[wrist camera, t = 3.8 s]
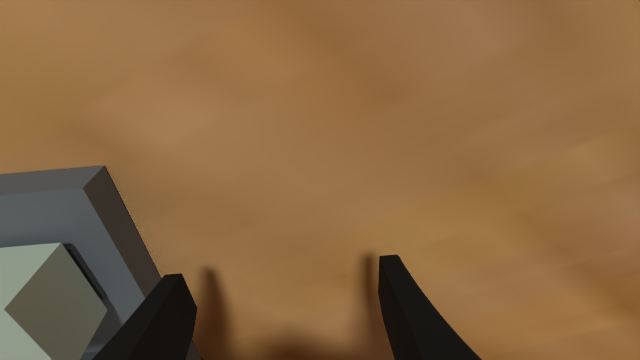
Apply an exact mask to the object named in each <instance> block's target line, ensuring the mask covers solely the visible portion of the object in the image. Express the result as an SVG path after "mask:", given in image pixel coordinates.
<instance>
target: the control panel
mask: <svg viewBox="0 0 640 360" xmlns="http://www.w3.org/2000/svg"><path fill="white" fill-rule="evenodd" d="M50 243H62V245H63V246H64V247H65V249H66V250H67V252H68V253H69V255H70V256H71V258H72V259H73V261H74V262H75V264H76V265H77V266H78V268H79V269H80V271H81V272H82V274H83V275H84V277H85V278H86V280H87V281H88V282H89V284H90V285H91V287H92V288H93V290H94V291H95V293H96V294H97V296H98V297H99V298H100V300H101V301H102V303H103V304H104V306H105V307H106V309H107V312H106V314H105V316H104V317H103V319H102V321H101V323H100V325H99V326H98V328H97V330H96V332H95V333H94V335H93V337H92V339H91V341H90V342H89V344H88V346H87V348H86V350H85V351H84V353H83V355H82V357H81V359H80V360H92V359H93V358H94V357H95V356H96V354H97V353H98V352H99V351H100V350H101V349H102V348H103V347H104V346H105V345H106V344H107V342H108V341H109V340H110V339H111V338H112V337H113V336H114V335H115V334H116V333H117V331H118V330H119V329H120V328H121V327H122V326H123V324H124V323H125V322H126V321H127V320H128V319H129V317H130V316H131V315H132V314H133V313H134V312H135V310H136V309H137V308H138V307H139V305H140V304H141V303H142V302H143V301H144V299H145V298H146V297H147V296H148V295H149V293H150V292H151V291H152V290H153V288H154V287H155V286H156V285H157V284H158V282H159V281H160V280H161V278H160V276H159V274H158V272H157V270H156V268H155V266H154V264H153V262H152V260H151V258H150V256H149V254H148V252H147V250H146V248H145V246H144V244H143V242H142V240H141V238H140V236H139V234H138V232H137V230H136V228H135V226H134V224H133V222H132V220H131V218H130V216H129V214H128V212H127V210H126V208H125V206H124V204H123V202H122V200H121V198H120V196H119V194H118V192H117V190H116V188H115V186H114V184H113V182H112V180H111V178H110V176H109V174H108V172H107V170H106V168H105V166H94V167H83V168H71V169H60V170H48V171H37V172H25V173H14V174H2V175H0V248H4V247H16V246H27V245H39V244H50ZM186 360H201V358H200V356H199V354H198V352H197V350H196V348H195V346H194V344H193V342H192V340H191V343H190V346H189V350H188V353H187V356H186Z"/></svg>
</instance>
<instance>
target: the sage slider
mask: <svg viewBox="0 0 640 360" xmlns="http://www.w3.org/2000/svg"><path fill="white" fill-rule="evenodd" d="M106 312H107V309H106V307H105V306H104V304H103V303H102V301H101V300H100V298H99V297H98V296H97V294H96V293H95V291H94V290H93V288H92V287H91V285H90V284H89V282H88V281H87V280H86V278H85V277H84V275H83V274H82V272H81V271H80V269H79V268H78V266H77V265H76V264H75V262H74V261H73V259H72V258H71V256H70V255H69V253H68V252H67V250H66V249H65V247H64V246H63V245H62V243H50V244H39V245H27V246H16V247H4V248H0V360H80V359H81V357H82V355H83V353H84V351H85V350H86V348H87V346H88V344H89V342H90V341H91V339H92V337H93V335H94V333H95V332H96V330H97V328H98V326H99V325H100V323H101V321H102V319H103V317H104V316H105V314H106Z"/></svg>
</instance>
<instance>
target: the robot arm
mask: <svg viewBox="0 0 640 360" xmlns="http://www.w3.org/2000/svg"><path fill="white" fill-rule="evenodd" d="M378 294H379V300H380V305H381V310H382V316H383V321H384V324H385V328H386V331H387V334H388V338H389V341H390V345H391V348H392V351H393V355H394V358H395V360H482V359H481V358H480V357H479V356H478V355H477V354H476V353H475V352H474V351H473V350H472V349H471V348H470V347H469V346H468V345H467V344H466V343H465V342H464V341H463V340H462V339H461V338H460V337H459V336H458V334H457V333H456V332H455V331H454V330H453V329H452V328H451V327H450V325H449V324H448V323H447V322H446V321H445V320H444V318H443V317H442V316H441V315H440V314H439V312H438V311H437V310H436V309H435V307H434V306H433V305H432V304H431V302H430V301H429V300H428V298H427V297H426V296H425V294H424V293H423V292H422V290H421V289H420V288H419V286H418V285H417V283H416V282H415V281H414V279H413V278H412V276H411V275H410V273H409V272H408V270H407V269H406V267H405V266H404V264H403V262H402V261H401V259H400V257H399V256H398V255H387V256H380V259H379V286H378ZM196 314H197V307H196V304H195V302H194V300H193V298H192V295H191V293H190V291H189V289H188V287H187V284H186V282H185V280H184V278H183V275H182V273H181V274H170V275H164V277H163V278H162V279H161V280H160V281H159V282H158V284H157V285H156V286H155V287H154V288H153V290H152V291H151V292H150V293H149V295H148V296H147V297H146V298H145V299H144V301H143V302H142V303H141V304H140V305H139V307H138V308H137V309H136V310H135V312H134V313H133V314H132V315H131V316H130V317H129V319H128V320H127V321H126V322H125V323H124V324H123V326H122V327H121V328H120V329H119V330H118V331H117V333H116V334H115V335H114V336H113V337H112V338H111V339H110V340H109V341H108V342H107V344H106V345H105V346H104V347H103V348H102V349H101V350H100V351H99V352H98V353H97V354H96V356H95V357H94V358H93V359H92V360H186V356H187V353H188V350H189V346H190V343H191V340H192V336H193V331H194V325H195V320H196Z"/></svg>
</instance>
